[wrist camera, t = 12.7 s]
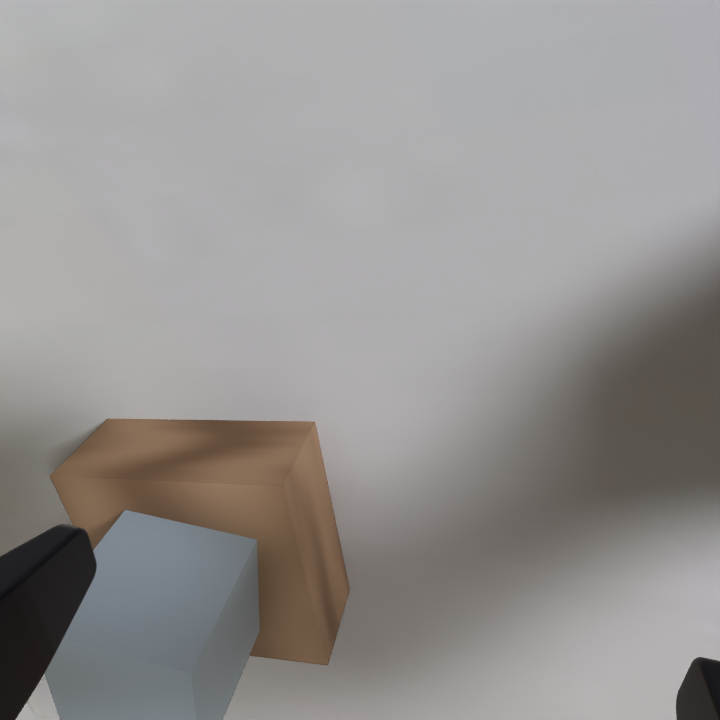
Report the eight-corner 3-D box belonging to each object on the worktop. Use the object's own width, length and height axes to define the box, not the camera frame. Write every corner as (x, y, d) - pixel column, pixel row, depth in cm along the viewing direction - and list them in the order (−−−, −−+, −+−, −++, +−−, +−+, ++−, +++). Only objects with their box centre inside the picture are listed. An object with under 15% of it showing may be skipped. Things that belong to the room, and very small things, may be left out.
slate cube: (256, 539, 21) (190, 673, 16) (259, 630, 23) (203, 766, 19) (125, 509, 21) (29, 630, 17) (141, 600, 24) (62, 725, 20)
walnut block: (317, 416, 23) (283, 486, 19) (351, 583, 27) (328, 665, 23) (112, 413, 25) (49, 475, 22) (173, 567, 29) (128, 640, 26)
